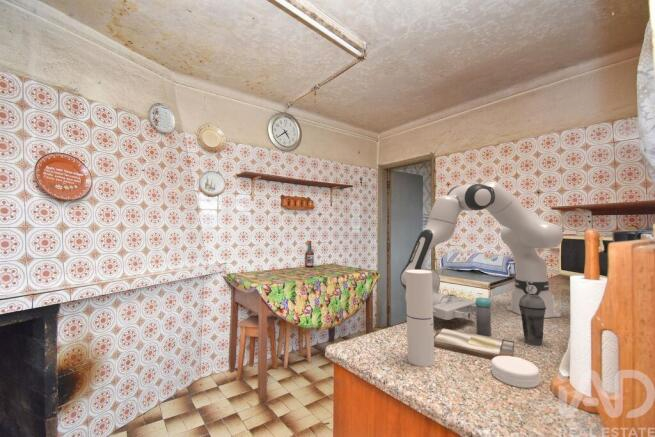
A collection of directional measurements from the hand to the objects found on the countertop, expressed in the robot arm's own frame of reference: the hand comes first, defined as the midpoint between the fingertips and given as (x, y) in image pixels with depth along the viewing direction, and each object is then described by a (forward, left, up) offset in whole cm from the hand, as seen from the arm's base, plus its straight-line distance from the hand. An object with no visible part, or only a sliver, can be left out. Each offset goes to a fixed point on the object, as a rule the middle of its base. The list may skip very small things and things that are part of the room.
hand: (475, 313), depth 102 cm
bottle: (+1, +2, -6) cm, 7 cm away
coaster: (+29, +12, -7) cm, 32 cm away
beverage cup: (+1, +16, -7) cm, 18 cm away
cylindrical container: (+33, -10, -7) cm, 35 cm away
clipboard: (+14, 0, -6) cm, 15 cm away
